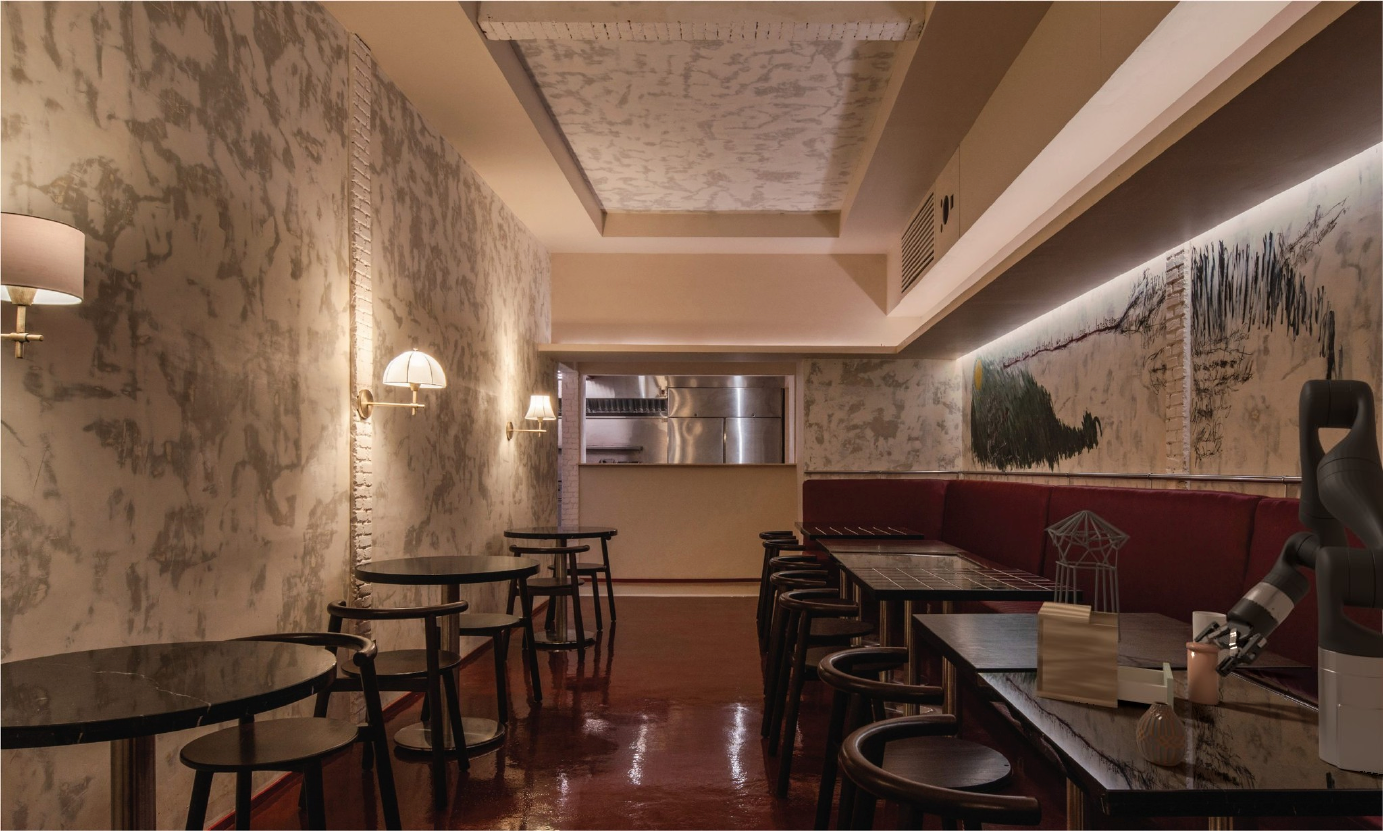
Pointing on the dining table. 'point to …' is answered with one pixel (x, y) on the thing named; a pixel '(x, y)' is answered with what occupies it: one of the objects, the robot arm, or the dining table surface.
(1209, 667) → the canister
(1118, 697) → the tray
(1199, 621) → the mug
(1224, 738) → the dining table surface
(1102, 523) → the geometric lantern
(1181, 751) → the vase
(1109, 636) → the housing
